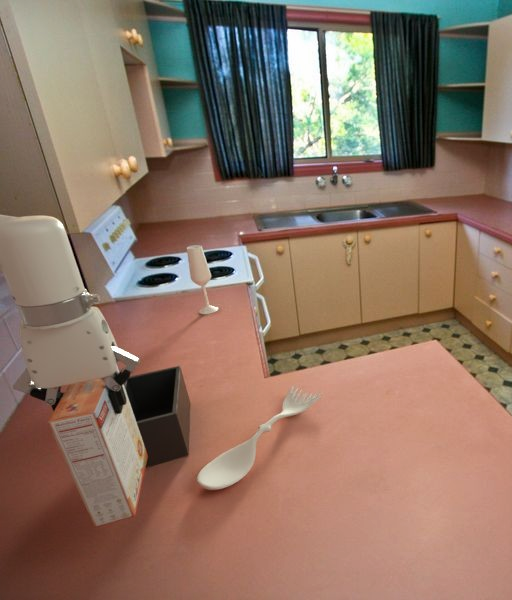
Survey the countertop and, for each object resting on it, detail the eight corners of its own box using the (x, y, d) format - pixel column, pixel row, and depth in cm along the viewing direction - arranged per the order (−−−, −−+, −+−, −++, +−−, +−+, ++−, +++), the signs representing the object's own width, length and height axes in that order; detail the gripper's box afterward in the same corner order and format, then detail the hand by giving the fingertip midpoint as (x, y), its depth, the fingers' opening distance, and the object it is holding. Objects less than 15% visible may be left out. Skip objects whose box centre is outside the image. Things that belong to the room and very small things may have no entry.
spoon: (324, 402, 103) (323, 391, 102) (224, 504, 77) (220, 490, 76) (294, 394, 107) (292, 382, 106) (189, 488, 81) (184, 474, 79)
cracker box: (112, 465, 77) (76, 367, 68) (149, 457, 79) (119, 359, 70) (90, 530, 65) (44, 420, 56) (135, 518, 67) (97, 409, 58)
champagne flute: (194, 311, 155) (179, 248, 146) (211, 305, 160) (197, 243, 151) (206, 315, 152) (190, 251, 142) (222, 308, 157) (208, 245, 147)
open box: (124, 473, 84) (108, 430, 80) (137, 415, 101) (124, 377, 97) (188, 455, 88) (176, 413, 84) (190, 402, 105) (180, 365, 101)
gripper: (131, 288, 64) (159, 387, 72) (-13, 308, 58) (34, 415, 65) (124, 307, 58) (156, 414, 65) (-39, 332, 52) (16, 447, 59)
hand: (94, 413), depth 65 cm, fingers closed on cracker box, 6 cm apart
